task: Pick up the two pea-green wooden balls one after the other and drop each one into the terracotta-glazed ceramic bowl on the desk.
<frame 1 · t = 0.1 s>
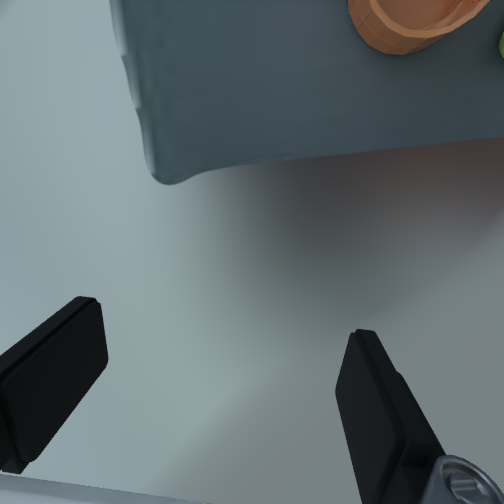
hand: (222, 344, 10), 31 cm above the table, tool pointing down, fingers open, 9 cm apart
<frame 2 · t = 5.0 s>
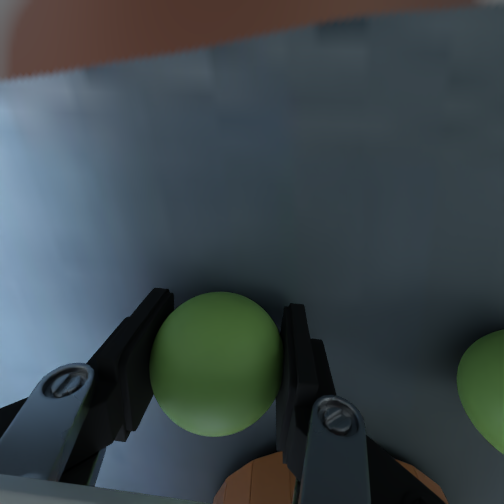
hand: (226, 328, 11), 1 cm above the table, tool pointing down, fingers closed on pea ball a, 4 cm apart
pea ball a: (219, 357, 10), point 2 cm above the table, touching gripper
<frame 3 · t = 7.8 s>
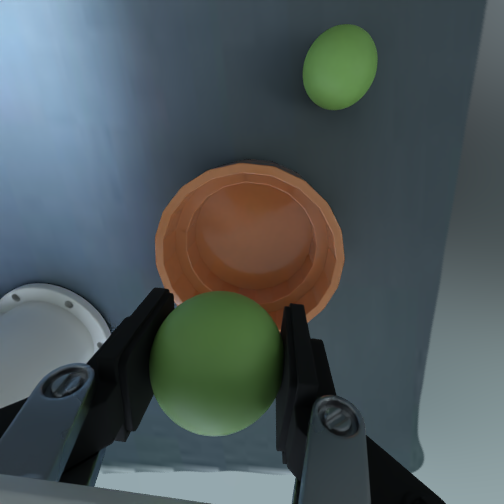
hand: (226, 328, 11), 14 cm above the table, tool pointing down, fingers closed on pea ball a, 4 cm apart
pea ball a: (219, 357, 10), point 16 cm above the table, touching gripper
bowl: (253, 236, 25), on the table
pea ball b: (338, 70, 18), point 2 cm above the table
when the fingers open (3 cm above the table, at t = 10.8 s): pea ball a drops 2 cm, resting on bowl.
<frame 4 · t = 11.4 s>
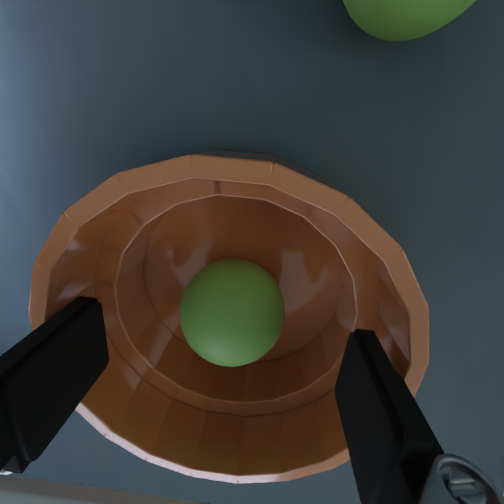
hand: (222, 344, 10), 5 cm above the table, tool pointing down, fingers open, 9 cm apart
pea ball a: (232, 310, 12), point 3 cm above the table, touching bowl
bowl: (241, 280, 15), on the table
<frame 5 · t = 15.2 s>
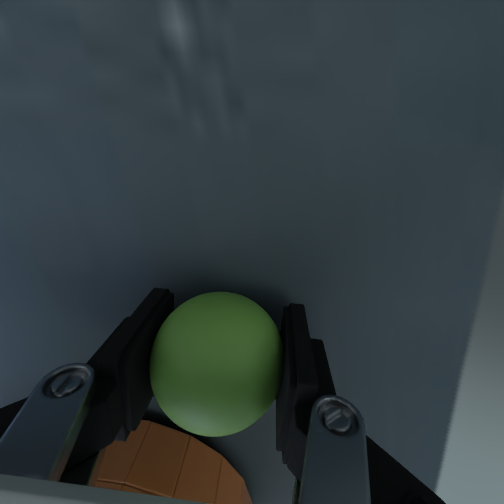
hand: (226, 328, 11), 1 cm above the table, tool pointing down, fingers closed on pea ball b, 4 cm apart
bowl: (144, 483, 17), on the table
pea ball b: (219, 357, 10), point 2 cm above the table, touching gripper
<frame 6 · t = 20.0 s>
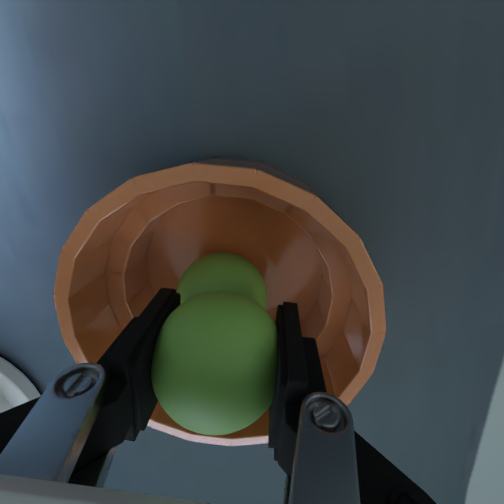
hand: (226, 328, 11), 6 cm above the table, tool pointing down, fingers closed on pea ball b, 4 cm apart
pea ball a: (222, 296, 14), point 3 cm above the table, tilted 6°, touching bowl, pea ball b
bowl: (234, 272, 17), on the table
pea ball b: (219, 356, 10), point 7 cm above the table, touching gripper, pea ball a
when the fingers open (6 cm above the table, at t = 20.1 s): pea ball b drops 5 cm and tips over, resting on bowl.
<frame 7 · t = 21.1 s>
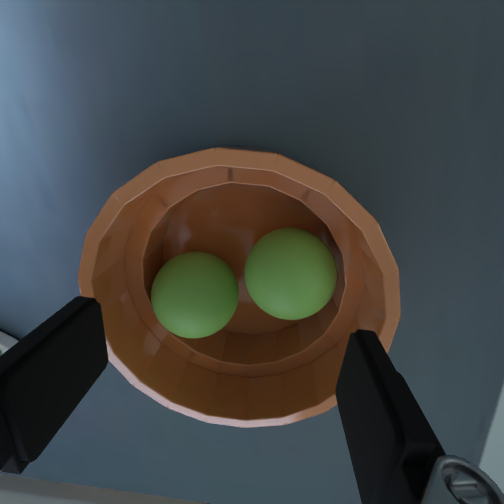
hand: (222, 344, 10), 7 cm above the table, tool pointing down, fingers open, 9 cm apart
pea ball a: (196, 293, 15), point 3 cm above the table, tilted 64°, touching bowl
bowl: (247, 260, 17), on the table
pea ball b: (289, 273, 14), point 3 cm above the table, tilted 160°, touching bowl
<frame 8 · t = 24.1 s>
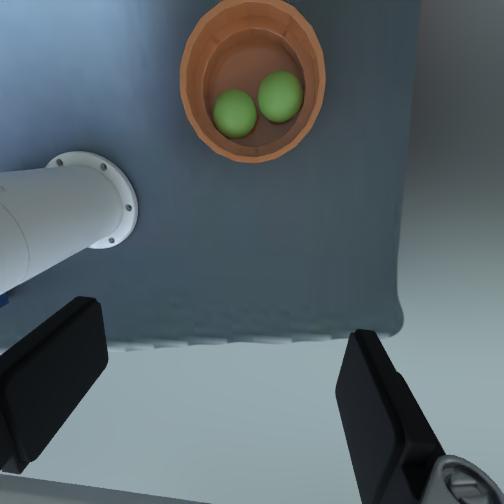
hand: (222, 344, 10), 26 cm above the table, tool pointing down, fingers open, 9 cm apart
pea ball a: (234, 114, 28), point 3 cm above the table, tilted 65°, touching bowl
bowl: (255, 97, 30), on the table
pea ball b: (280, 97, 27), point 3 cm above the table, tilted 137°, touching bowl
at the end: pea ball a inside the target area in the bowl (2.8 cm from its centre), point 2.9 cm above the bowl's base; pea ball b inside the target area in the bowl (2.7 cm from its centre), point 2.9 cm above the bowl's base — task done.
